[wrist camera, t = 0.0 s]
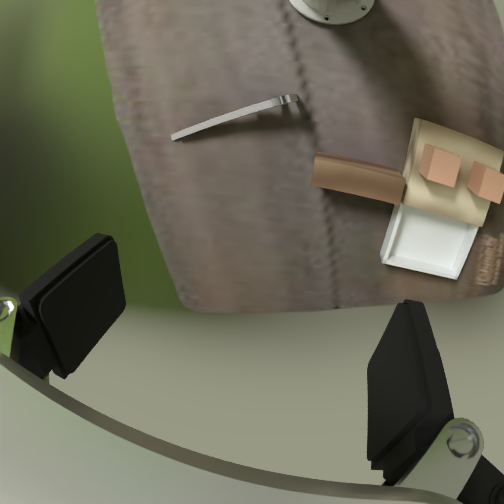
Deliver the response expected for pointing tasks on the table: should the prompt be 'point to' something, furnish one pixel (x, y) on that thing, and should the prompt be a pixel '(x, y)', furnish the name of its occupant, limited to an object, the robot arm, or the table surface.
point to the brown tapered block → (357, 177)
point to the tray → (427, 241)
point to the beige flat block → (460, 197)
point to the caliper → (237, 114)
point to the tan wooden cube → (486, 182)
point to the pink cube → (439, 165)
